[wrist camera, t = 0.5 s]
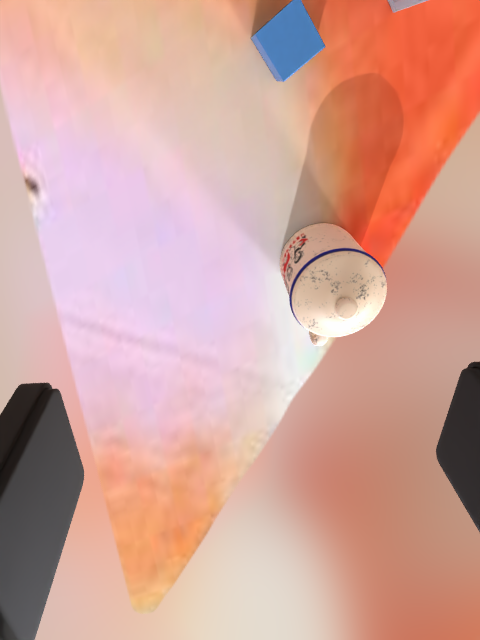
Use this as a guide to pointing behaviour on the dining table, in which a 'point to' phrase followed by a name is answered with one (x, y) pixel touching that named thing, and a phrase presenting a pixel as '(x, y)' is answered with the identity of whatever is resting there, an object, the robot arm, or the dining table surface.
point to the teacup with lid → (331, 282)
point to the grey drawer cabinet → (403, 4)
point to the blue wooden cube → (288, 40)
